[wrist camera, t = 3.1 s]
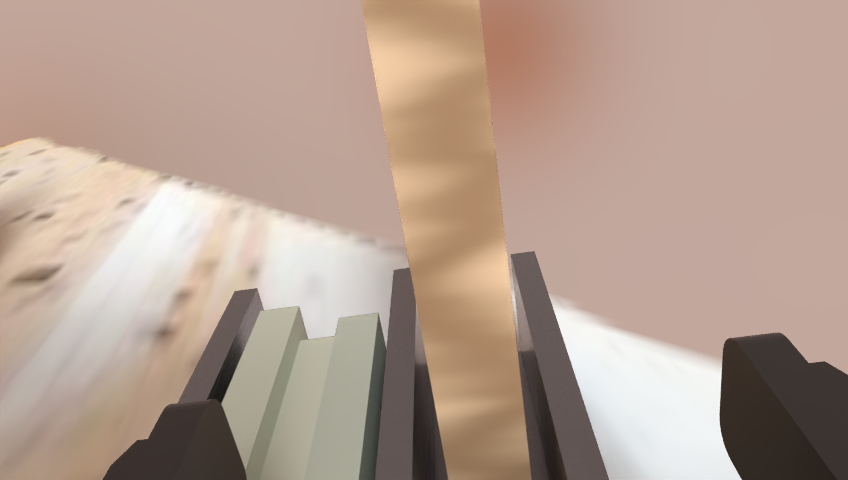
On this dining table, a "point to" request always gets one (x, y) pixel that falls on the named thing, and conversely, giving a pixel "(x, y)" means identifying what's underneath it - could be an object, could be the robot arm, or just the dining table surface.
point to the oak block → (453, 226)
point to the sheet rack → (412, 393)
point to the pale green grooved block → (308, 399)
